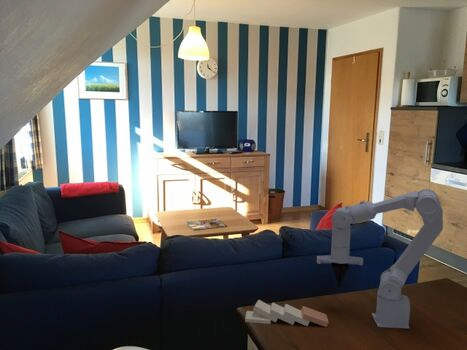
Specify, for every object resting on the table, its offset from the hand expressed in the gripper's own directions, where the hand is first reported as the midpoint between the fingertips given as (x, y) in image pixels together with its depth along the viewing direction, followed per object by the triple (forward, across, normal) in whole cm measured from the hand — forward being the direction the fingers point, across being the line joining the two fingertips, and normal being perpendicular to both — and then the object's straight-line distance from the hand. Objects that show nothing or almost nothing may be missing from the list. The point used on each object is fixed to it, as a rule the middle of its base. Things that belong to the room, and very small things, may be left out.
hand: (338, 284), depth 132 cm
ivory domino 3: (+9, +15, +8) cm, 19 cm away
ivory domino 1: (+9, +22, +8) cm, 25 cm away
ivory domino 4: (+9, +10, +8) cm, 16 cm away
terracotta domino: (+9, +5, +8) cm, 13 cm away
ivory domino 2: (+8, +20, +8) cm, 23 cm away
